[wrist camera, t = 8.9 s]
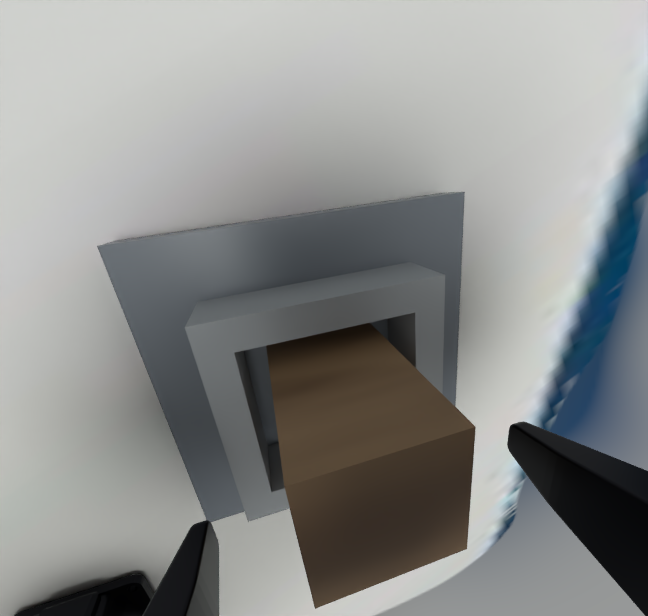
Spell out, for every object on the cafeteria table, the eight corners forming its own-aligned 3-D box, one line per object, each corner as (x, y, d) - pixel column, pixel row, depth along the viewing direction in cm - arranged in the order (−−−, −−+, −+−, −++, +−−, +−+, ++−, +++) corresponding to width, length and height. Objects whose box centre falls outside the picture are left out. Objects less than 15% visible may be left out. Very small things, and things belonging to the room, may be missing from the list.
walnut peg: (372, 400, 15) (466, 548, 9) (284, 424, 14) (315, 608, 8) (365, 318, 13) (475, 426, 7) (265, 341, 13) (284, 486, 6)
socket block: (438, 427, 19) (484, 481, 15) (211, 496, 16) (201, 580, 13) (442, 193, 14) (513, 189, 10) (115, 240, 11) (52, 259, 8)
